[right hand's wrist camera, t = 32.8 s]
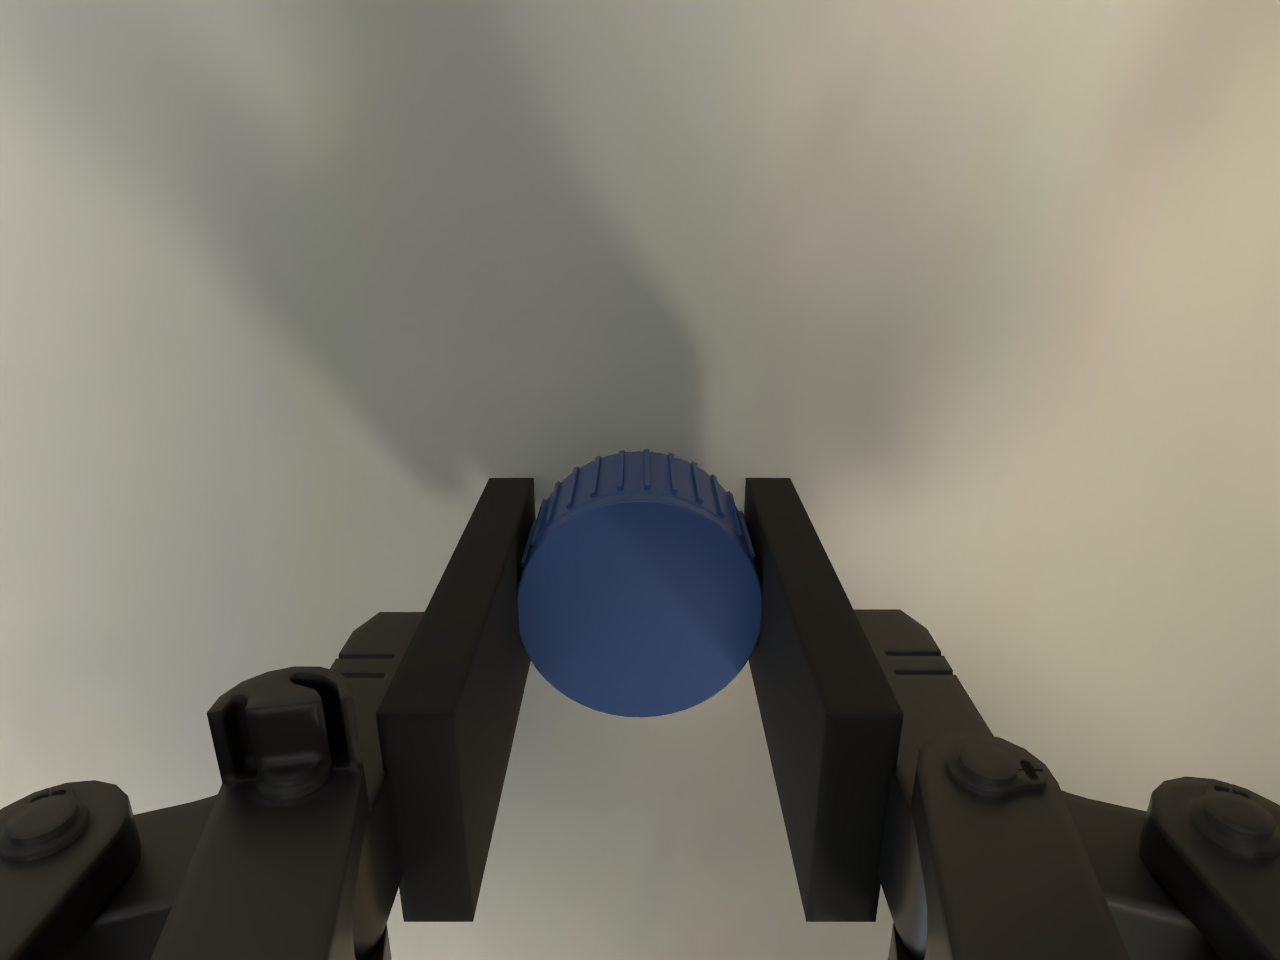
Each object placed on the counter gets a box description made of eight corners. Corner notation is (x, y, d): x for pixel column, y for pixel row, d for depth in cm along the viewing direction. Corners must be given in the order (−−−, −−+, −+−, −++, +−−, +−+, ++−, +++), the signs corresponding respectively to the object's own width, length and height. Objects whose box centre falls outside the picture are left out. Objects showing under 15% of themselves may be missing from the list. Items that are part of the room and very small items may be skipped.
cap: (522, 634, 15) (504, 709, 13) (537, 434, 14) (519, 482, 12) (730, 655, 15) (744, 732, 13) (766, 460, 14) (788, 511, 12)
